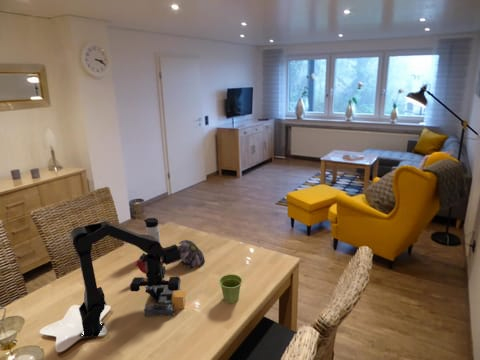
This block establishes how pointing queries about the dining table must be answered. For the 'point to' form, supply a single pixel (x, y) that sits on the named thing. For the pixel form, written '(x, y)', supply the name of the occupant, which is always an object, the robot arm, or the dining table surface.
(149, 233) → the travel mug
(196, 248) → the decorative flower
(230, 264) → the dining table surface
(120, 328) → the dining table surface
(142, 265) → the decorative bird figurine
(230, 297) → the plant pot
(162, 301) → the plug
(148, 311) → the grey rectangular blocks
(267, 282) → the dining table surface
